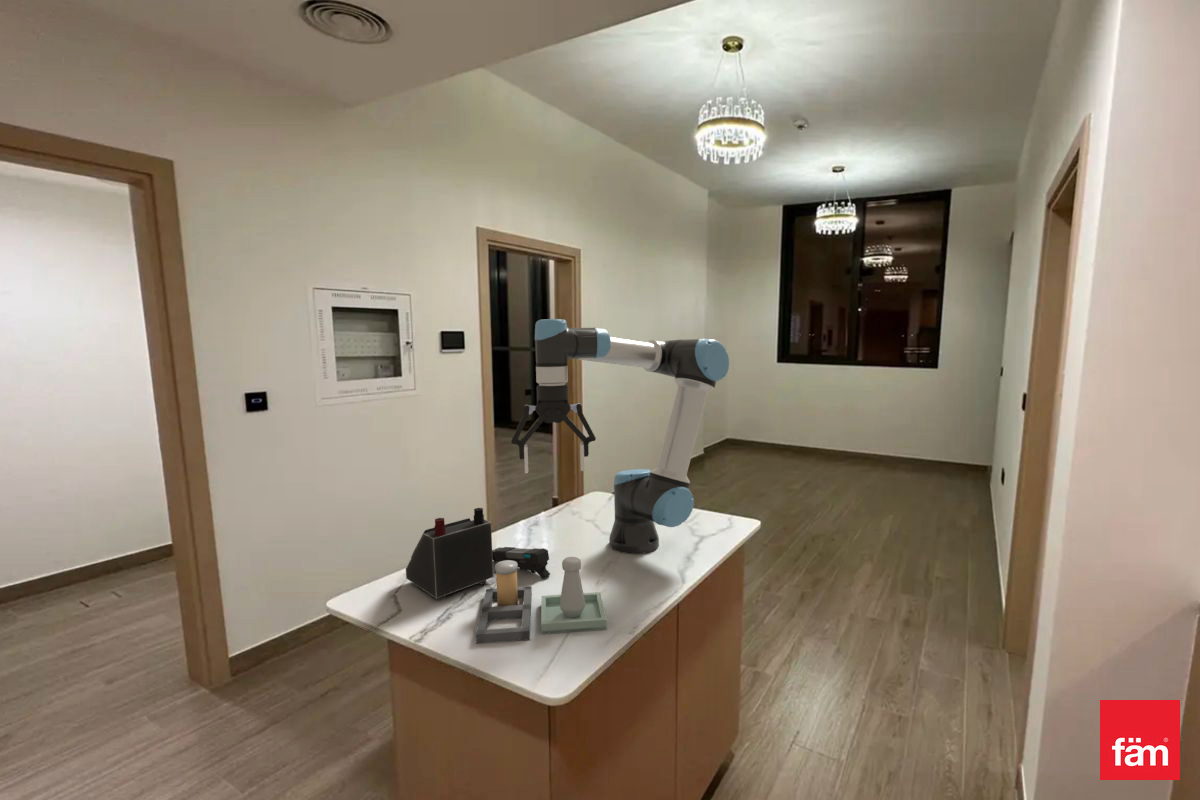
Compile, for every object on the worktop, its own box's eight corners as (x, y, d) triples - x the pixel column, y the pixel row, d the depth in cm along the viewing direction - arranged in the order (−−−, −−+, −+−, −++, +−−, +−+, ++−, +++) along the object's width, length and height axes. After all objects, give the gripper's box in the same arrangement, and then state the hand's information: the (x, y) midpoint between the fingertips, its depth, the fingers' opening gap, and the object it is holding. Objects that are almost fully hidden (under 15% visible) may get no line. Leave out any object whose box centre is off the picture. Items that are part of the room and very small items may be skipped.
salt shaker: (559, 608, 125) (558, 554, 124) (584, 606, 125) (583, 553, 124) (560, 621, 119) (558, 564, 118) (586, 619, 120) (585, 563, 118)
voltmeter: (460, 564, 152) (457, 495, 150) (493, 582, 141) (490, 508, 139) (406, 583, 141) (401, 509, 139) (436, 604, 130) (432, 523, 127)
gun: (543, 581, 140) (533, 543, 141) (496, 586, 152) (487, 551, 154) (555, 575, 144) (545, 538, 145) (508, 580, 156) (499, 547, 157)
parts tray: (600, 600, 129) (600, 592, 129) (606, 629, 117) (606, 619, 116) (541, 604, 128) (541, 595, 128) (541, 634, 115) (541, 624, 115)
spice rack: (531, 593, 134) (530, 554, 133) (529, 639, 113) (527, 593, 112) (486, 596, 133) (485, 556, 132) (476, 643, 112) (473, 596, 111)
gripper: (602, 381, 134) (603, 465, 137) (500, 384, 132) (504, 469, 134) (605, 384, 127) (607, 472, 129) (498, 386, 124) (501, 476, 127)
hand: (554, 471), depth 132 cm, fingers open, 13 cm apart
